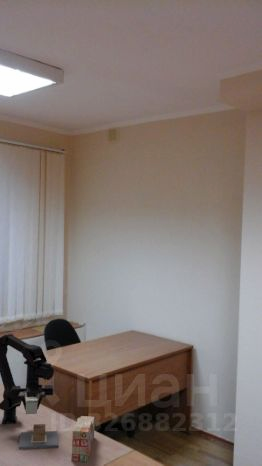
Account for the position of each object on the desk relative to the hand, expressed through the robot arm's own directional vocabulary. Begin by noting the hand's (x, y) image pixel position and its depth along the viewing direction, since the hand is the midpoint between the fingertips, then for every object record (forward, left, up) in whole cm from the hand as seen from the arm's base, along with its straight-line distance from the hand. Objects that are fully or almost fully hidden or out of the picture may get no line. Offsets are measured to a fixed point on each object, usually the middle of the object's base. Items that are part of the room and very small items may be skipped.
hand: (31, 409), depth 196 cm
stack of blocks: (+20, +22, -9) cm, 31 cm away
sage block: (0, 0, -1) cm, 1 cm away
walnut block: (+11, +4, -8) cm, 14 cm away
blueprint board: (+11, +4, -9) cm, 15 cm away
